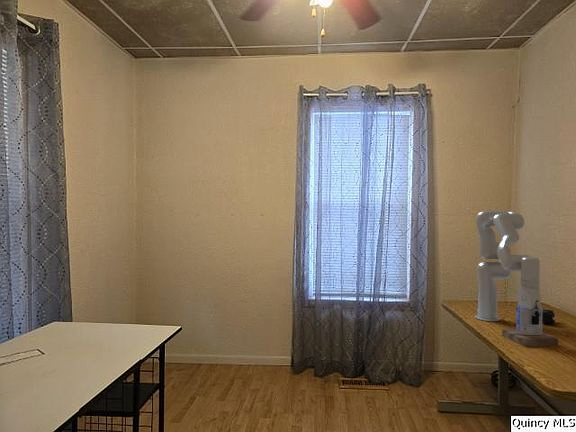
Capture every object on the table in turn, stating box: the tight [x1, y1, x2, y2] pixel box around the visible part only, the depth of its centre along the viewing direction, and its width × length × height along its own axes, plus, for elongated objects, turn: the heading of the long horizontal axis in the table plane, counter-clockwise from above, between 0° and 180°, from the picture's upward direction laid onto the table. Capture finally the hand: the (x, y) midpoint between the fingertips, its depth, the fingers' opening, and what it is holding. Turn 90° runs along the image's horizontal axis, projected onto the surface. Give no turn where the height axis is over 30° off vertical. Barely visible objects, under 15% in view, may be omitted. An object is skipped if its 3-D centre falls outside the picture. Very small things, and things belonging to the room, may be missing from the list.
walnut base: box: [502, 328, 559, 347], centre depth 194 cm, size 16×16×3 cm
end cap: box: [542, 307, 556, 326], centre depth 225 cm, size 10×7×7 cm
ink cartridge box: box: [515, 305, 543, 335], centre depth 194 cm, size 10×6×14 cm, turn 82°
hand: (529, 321), depth 194 cm, fingers open, 7 cm apart
